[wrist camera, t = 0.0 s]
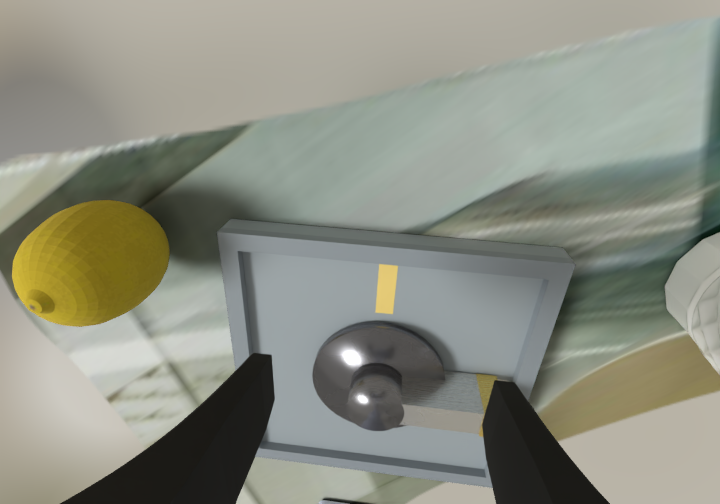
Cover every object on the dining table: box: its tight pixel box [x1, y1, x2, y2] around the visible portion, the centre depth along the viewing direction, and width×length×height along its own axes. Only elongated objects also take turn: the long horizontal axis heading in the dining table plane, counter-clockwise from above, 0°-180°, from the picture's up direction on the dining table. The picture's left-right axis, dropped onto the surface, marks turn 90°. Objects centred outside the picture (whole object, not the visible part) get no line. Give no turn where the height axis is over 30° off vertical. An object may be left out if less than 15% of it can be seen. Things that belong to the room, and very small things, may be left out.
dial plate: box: [217, 219, 576, 488], centre depth 25 cm, size 18×18×2 cm
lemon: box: [12, 200, 170, 327], centre depth 19 cm, size 6×6×8 cm
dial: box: [312, 322, 498, 437], centre depth 23 cm, size 11×8×3 cm
